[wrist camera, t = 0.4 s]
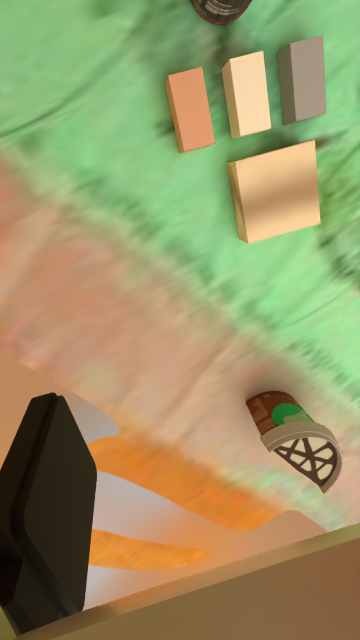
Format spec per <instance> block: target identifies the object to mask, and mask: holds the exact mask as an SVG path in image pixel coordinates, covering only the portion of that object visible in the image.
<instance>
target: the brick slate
mask: <svg viewBox="0 0 360 640" xmlns="http://www.w3.org/2000/svg"><path fill="white" fill-rule="evenodd" d="M277 59H278V70H279V81H280V92H281V103H282V114H283V125H287V124H291V123H295V122H299V121H303V120H306V119H310V118H314V117H317V116H320V115H323V114H326V93H325V71H324V49H323V35H322V36H318V37H313V38H309V39H305V40H301V41H297V42H293V43H290V44H289V45H287V46H286V47H285V48H284V49H283V50H281V51H280V52H279V53H278V54H277Z"/></svg>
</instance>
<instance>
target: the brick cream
mask: <svg viewBox="0 0 360 640" xmlns="http://www.w3.org/2000/svg"><path fill="white" fill-rule="evenodd" d="M222 76H223V83H224V89H225V96H226V103H227V109H228V116H229V123H230V130H231V136H232V139H235V138H239V137H243V136H247V135H251V134H255V133H259V132H262V131H265V130H268V129H270V128H271V122H270V113H269V103H268V94H267V84H266V75H265V66H264V56H263V51H261V52H256V53H252V54H248V55H244V56H240V57H236V58H232V59H229V61H228V62H227V63H226V64H225V65H224V66H223V68H222Z"/></svg>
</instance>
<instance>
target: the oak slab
mask: <svg viewBox="0 0 360 640" xmlns="http://www.w3.org/2000/svg"><path fill="white" fill-rule="evenodd" d="M227 168H228V174H229V180H230V186H231V191H232V197H233V203H234V209H235V215H236V221H237V227H238V232H239V238H240V239H241V240H243V241H244V242H246V243H248V244H249V243H252V242H256V241H259V240H263V239H266V238H270V237H273V236H277V235H281V234H284V233H288V232H291V231H295V230H298V229H302V228H305V227H309V226H312V225H316V224H319V223H320V210H319V196H318V181H317V167H316V153H315V140H313V141H308V142H303V143H299V144H295V145H291V146H288V147H284V148H280V149H277V150H273V151H269V152H266V153H262V154H258V155H255V156H251V157H247V158H244V159H240V160H236V161H233V162H229V163H227Z"/></svg>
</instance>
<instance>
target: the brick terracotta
mask: <svg viewBox="0 0 360 640" xmlns="http://www.w3.org/2000/svg"><path fill="white" fill-rule="evenodd" d="M165 86H166V91H167V96H168V100H169V105H170V110H171V114H172V119H173V123H174V128H175V133H176V137H177V142H178V147H179V151H180V153H184V152H188V151H192V150H195V149H199V148H203V147H207V146H210V145H212V144H215V139H214V133H213V128H212V122H211V116H210V110H209V105H208V99H207V93H206V88H205V82H204V76H203V70H202V67H199V68H195V69H191V70H187V71H183V72H180V73H176V74H172V75H168V77H167V80H166V82H165Z"/></svg>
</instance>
